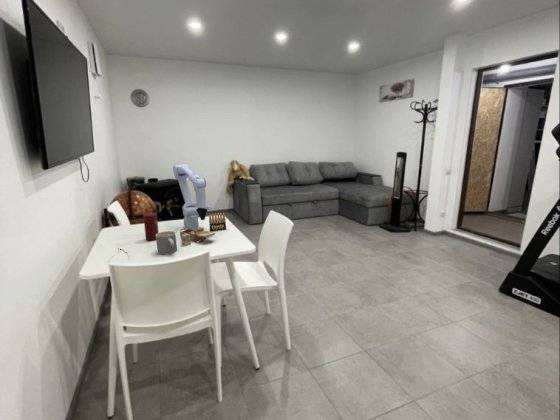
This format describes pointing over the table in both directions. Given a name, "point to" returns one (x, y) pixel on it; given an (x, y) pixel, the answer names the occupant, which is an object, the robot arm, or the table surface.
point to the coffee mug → (166, 242)
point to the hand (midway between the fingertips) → (202, 219)
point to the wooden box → (192, 237)
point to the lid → (201, 233)
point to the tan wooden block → (185, 239)
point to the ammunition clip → (216, 224)
